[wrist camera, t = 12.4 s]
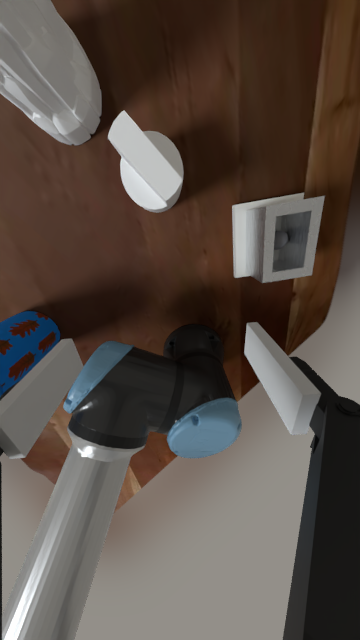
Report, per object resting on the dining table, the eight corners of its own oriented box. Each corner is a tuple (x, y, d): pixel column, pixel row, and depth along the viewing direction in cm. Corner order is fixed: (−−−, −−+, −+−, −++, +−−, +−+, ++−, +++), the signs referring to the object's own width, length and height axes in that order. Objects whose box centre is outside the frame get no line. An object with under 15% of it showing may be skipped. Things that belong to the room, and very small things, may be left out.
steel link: (285, 266, 37) (311, 275, 30) (245, 272, 38) (262, 283, 31) (291, 202, 32) (324, 195, 25) (245, 210, 33) (266, 206, 26)
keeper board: (290, 267, 39) (313, 274, 33) (233, 276, 39) (245, 285, 33) (298, 193, 33) (328, 186, 27) (232, 205, 34) (245, 201, 27)
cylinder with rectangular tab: (192, 181, 32) (202, 157, 21) (158, 224, 35) (152, 222, 24) (152, 132, 29) (139, 76, 18) (118, 183, 32) (90, 160, 21)
